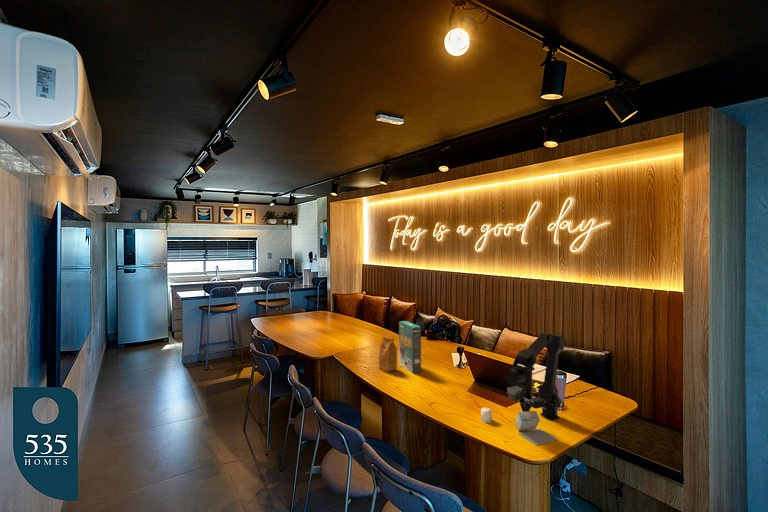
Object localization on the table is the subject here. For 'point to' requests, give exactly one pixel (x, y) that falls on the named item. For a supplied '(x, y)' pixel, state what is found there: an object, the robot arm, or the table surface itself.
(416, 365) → the cake mix box
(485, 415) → the egg
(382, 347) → the coffee package
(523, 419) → the medicine box
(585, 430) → the table surface
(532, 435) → the mat
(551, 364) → the robot arm
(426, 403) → the table surface
